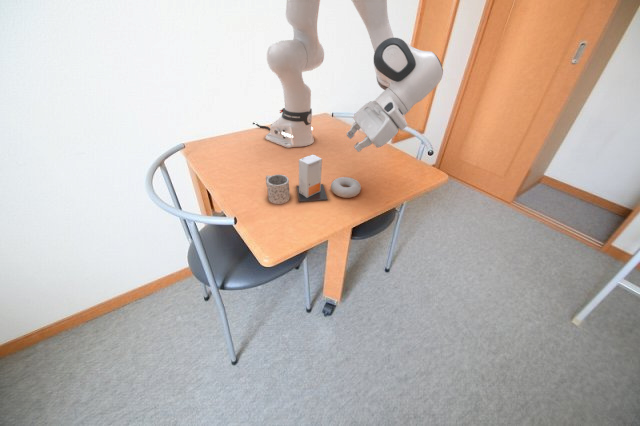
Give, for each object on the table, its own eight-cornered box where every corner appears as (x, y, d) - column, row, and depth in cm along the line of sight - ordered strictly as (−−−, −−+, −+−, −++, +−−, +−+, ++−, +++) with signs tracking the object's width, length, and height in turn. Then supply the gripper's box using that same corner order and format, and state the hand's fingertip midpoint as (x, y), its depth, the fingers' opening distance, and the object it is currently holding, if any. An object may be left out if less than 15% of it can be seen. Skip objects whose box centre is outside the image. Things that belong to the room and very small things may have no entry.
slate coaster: (322, 185, 93) (322, 184, 93) (327, 200, 86) (327, 198, 86) (296, 187, 92) (296, 185, 91) (299, 202, 85) (299, 200, 84)
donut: (357, 183, 95) (328, 183, 94) (358, 175, 93) (329, 174, 92) (363, 199, 87) (332, 200, 86) (364, 190, 85) (333, 190, 84)
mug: (293, 198, 86) (293, 180, 82) (276, 206, 83) (274, 188, 79) (276, 185, 92) (274, 168, 88) (259, 192, 88) (256, 174, 84)
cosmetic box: (307, 198, 85) (307, 164, 78) (298, 193, 88) (297, 159, 81) (321, 191, 89) (322, 158, 82) (312, 186, 91) (313, 153, 84)
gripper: (371, 90, 82) (337, 123, 87) (396, 111, 66) (353, 150, 71) (382, 105, 85) (349, 136, 90) (409, 128, 69) (367, 164, 74)
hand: (351, 142), depth 80 cm, fingers open, 8 cm apart
